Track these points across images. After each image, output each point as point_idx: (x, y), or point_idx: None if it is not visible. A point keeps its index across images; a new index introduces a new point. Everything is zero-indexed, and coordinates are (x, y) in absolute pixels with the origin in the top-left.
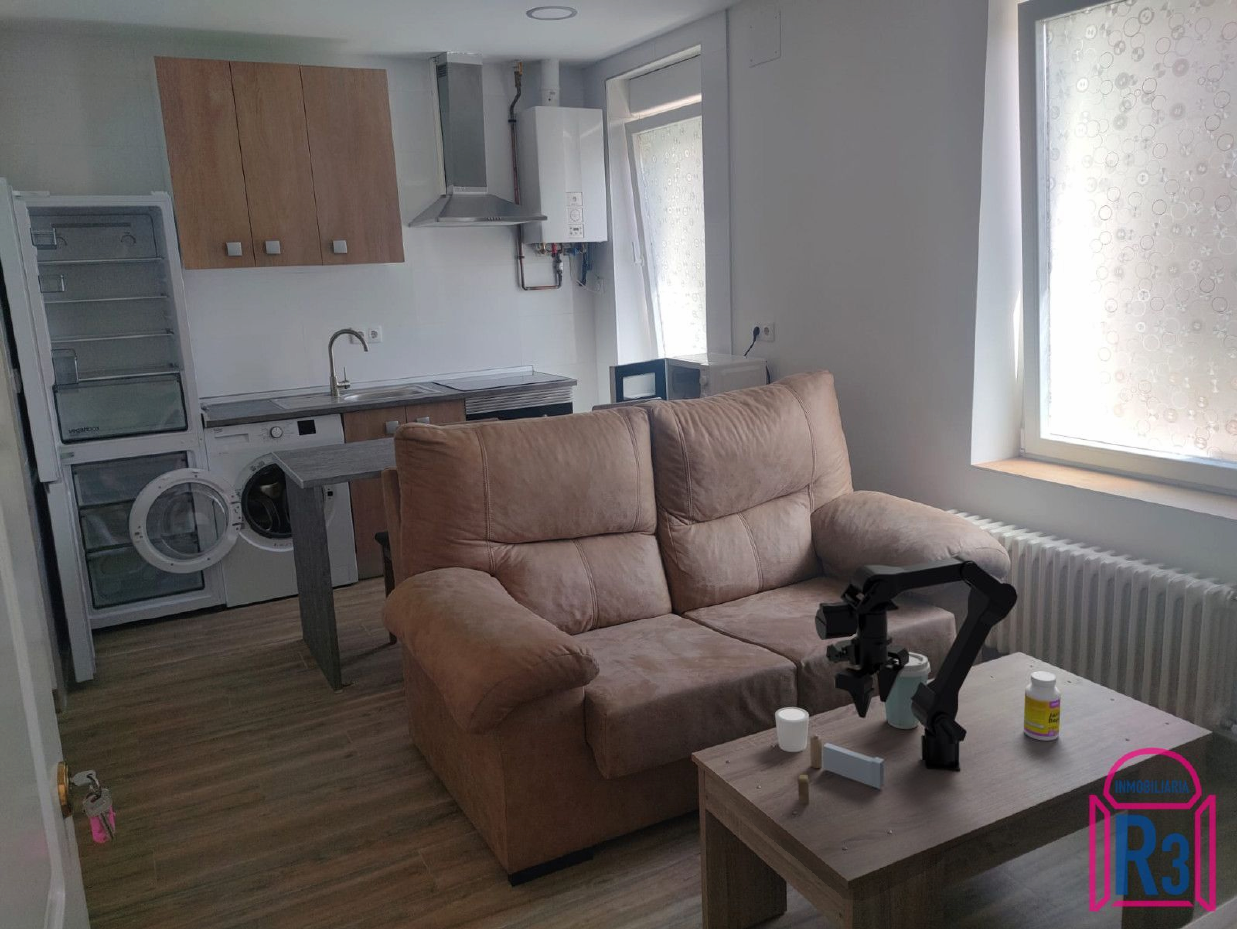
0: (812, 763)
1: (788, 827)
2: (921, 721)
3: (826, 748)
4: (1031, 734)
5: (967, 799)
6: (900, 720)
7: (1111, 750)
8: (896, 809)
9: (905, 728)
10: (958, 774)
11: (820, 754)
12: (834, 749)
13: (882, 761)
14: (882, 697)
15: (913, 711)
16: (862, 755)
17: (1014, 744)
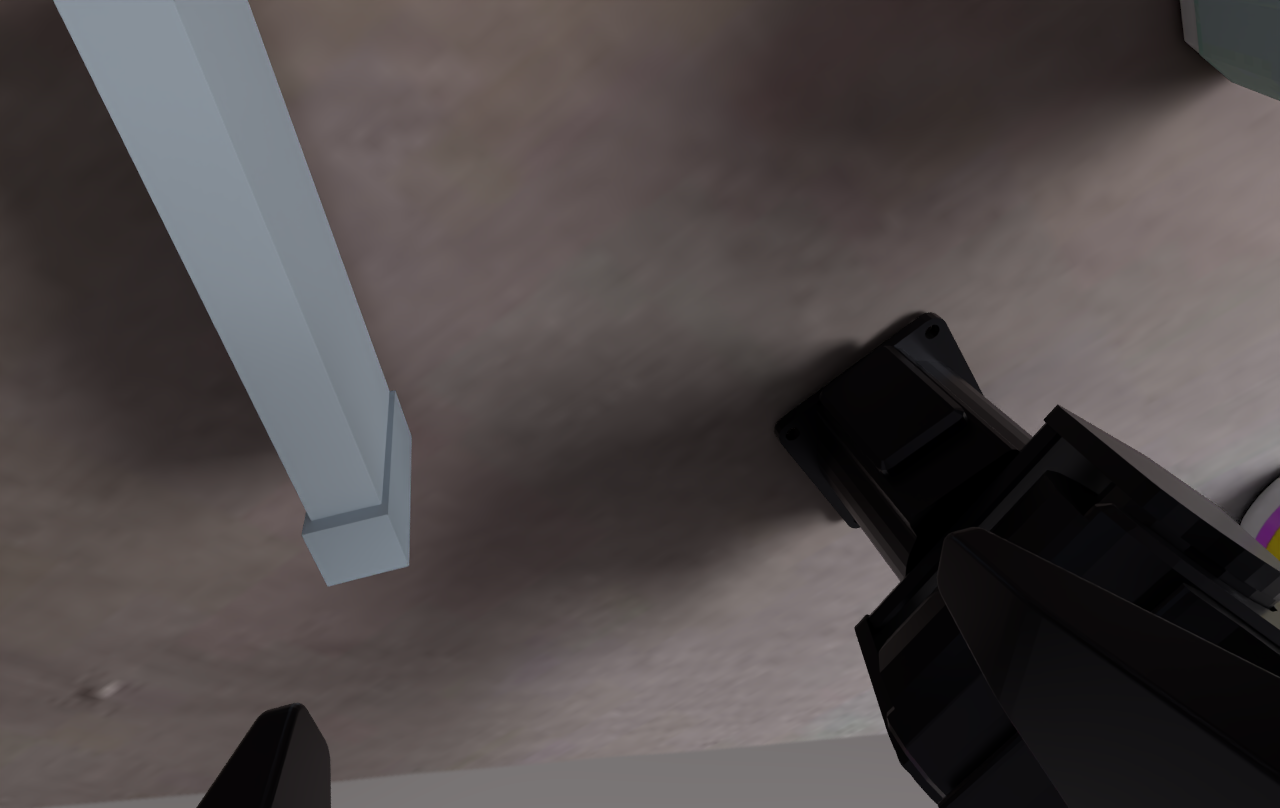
0: None
1: None
2: (944, 618)
3: (73, 25)
4: (1262, 519)
5: (646, 660)
6: (1233, 13)
7: None
8: (296, 588)
9: (1187, 31)
10: (815, 530)
11: None
12: (133, 146)
13: (384, 567)
14: (984, 613)
15: (1055, 543)
16: (328, 410)
17: None
